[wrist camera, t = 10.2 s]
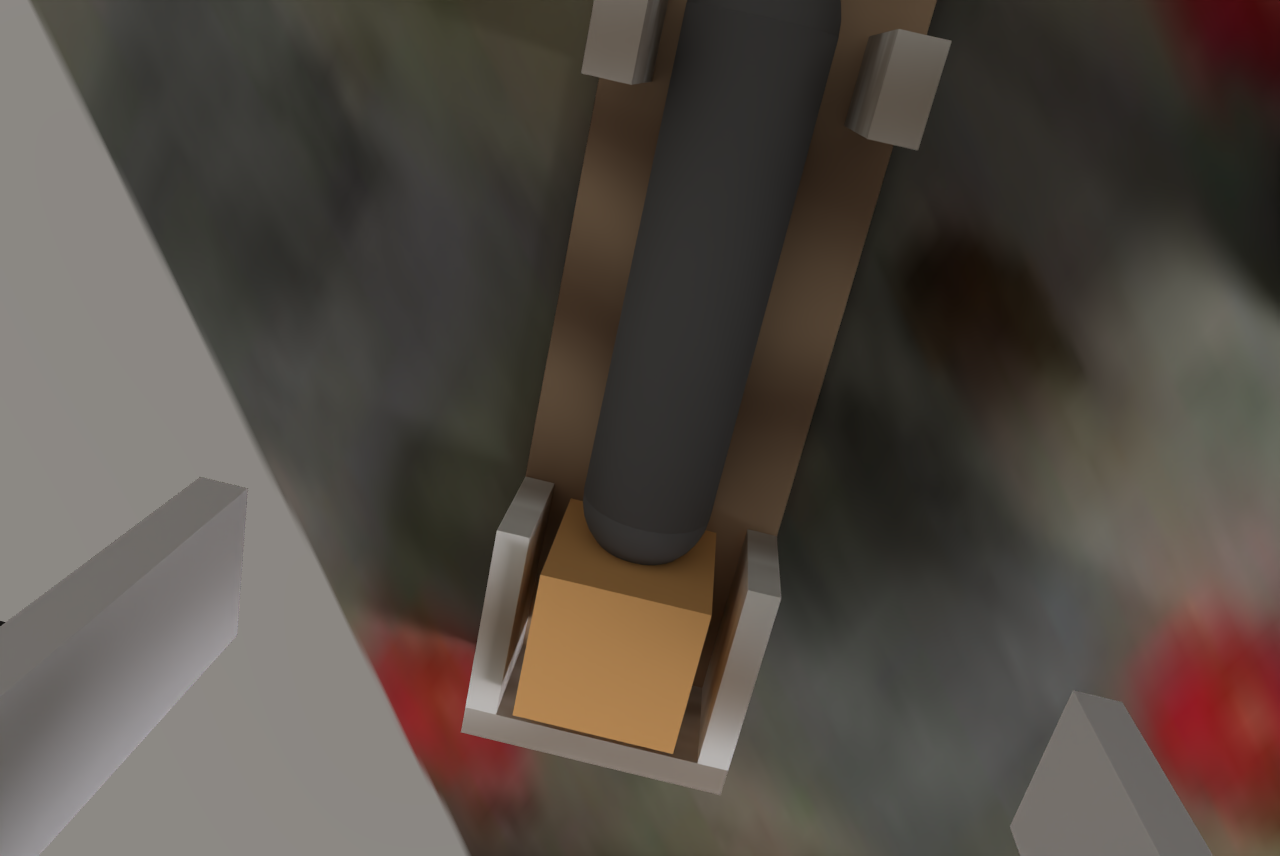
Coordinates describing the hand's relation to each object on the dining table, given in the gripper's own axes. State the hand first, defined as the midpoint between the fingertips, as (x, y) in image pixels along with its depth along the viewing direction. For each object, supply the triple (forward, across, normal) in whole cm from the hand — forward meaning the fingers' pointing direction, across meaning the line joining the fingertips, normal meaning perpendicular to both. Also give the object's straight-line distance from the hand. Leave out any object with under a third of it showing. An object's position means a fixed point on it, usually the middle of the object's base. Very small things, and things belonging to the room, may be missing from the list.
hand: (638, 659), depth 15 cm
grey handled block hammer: (+16, 0, +1) cm, 16 cm away
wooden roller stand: (+17, 0, 0) cm, 17 cm away
